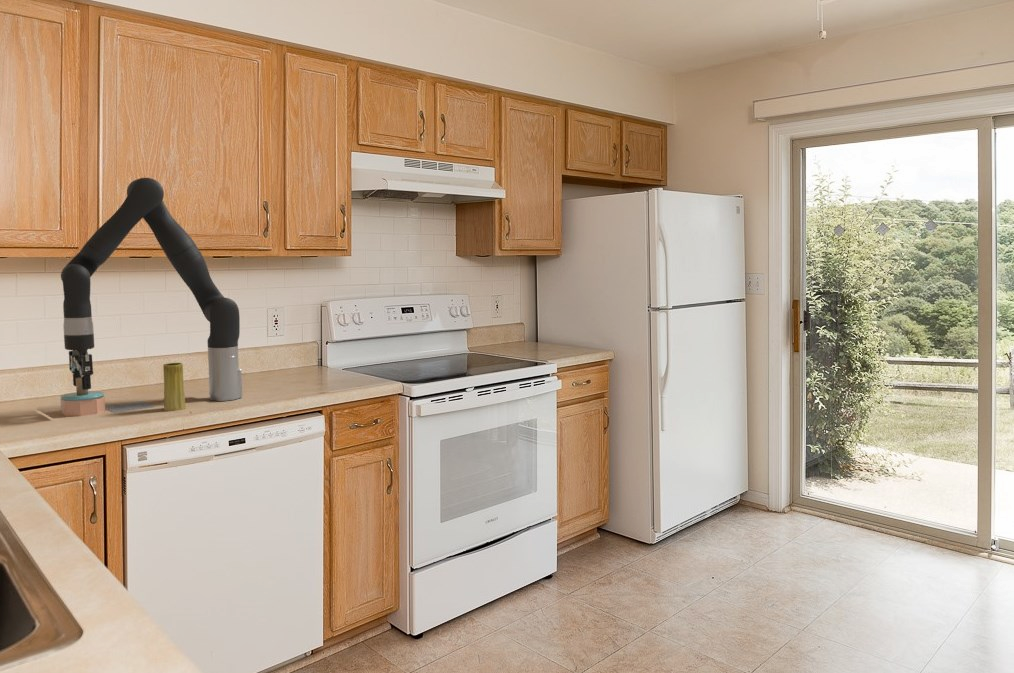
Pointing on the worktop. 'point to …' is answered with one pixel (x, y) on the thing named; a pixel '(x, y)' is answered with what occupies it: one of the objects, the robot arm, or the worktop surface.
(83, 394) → the lid
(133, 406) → the mat
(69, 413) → the bowl
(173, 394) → the vase
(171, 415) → the worktop surface
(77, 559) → the worktop surface
